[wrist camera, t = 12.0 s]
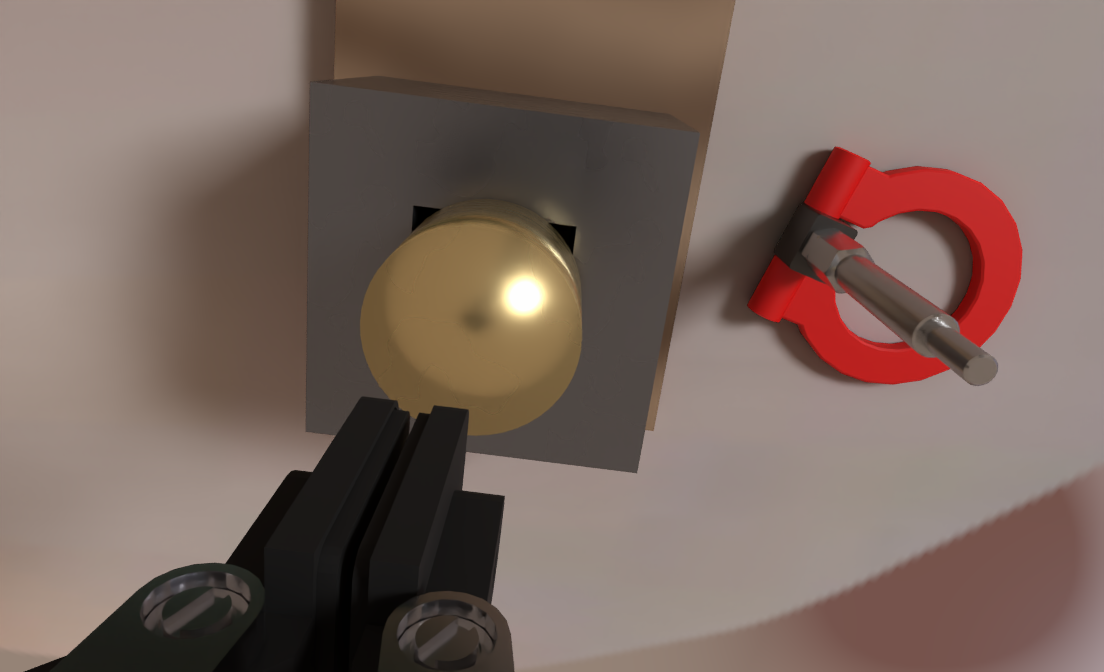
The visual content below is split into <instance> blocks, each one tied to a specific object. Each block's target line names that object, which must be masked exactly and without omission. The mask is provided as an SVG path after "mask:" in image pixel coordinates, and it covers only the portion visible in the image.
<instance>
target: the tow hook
mask: <svg viewBox="0 0 1104 672" xmlns="http://www.w3.org/2000/svg"><path fill="white" fill-rule="evenodd" d="M870 164H871V163H870V162H869V161H868V160H867V159H865V158H862V157H860V156H858V155H856V154H854V153H852V152H849V151H847V150H845V149H843V148H840V147H834V149H833V151H832V152H831V154H830V156H829V158H828V160H827V161H826V163H825V165H824V167H823V169H822V170H821V172H820V174H819V176H818V178H817V180H816V181H815V183H814V185H813V187H812V189H811V190H810V192H809V194H808V196H807V198H806V199H805V201H804V203H801V204H800V205H799V206H798V208H797V210H796V212H795V214H794V215H793V217H792V219H791V221H790V223H789V224H788V226H787V228H786V230H785V232H784V234H783V235H782V237H781V239H780V241H779V243H778V244H777V246H776V248H775V250H774V253H775V255H774V257H773V259H772V261H771V263H770V264H769V266H768V268H767V270H766V272H765V274H764V275H763V277H762V279H761V281H760V283H759V284H758V286H757V288H756V290H755V292H754V293H753V295H752V297H751V299H750V301H749V302H748V304H747V306H748V307H749V308H750V309H751V310H752V311H753V312H755V313H756V314H757V315H759V316H761V317H763V318H765V319H768V320H771V321H774V322H780V320H781V319H782V318H784V319H786V320H788V321H791V322H793V323H795V324H798V327H799V330H800V333H801V334H802V335H803V337H804V338H805V339H806V341H807V342H808V343H809V345H810V346H811V347H812V349H813V350H814V351H815V352H816V354H817V355H818V356H819V357H820V358H821V359H822V360H824V361H825V362H826V363H828V364H829V365H830V366H832V367H833V368H835V369H836V370H837V371H839V372H840V373H842V374H845V375H847V376H850V377H853V378H856V379H859V380H861V381H864V382H870V383H882V384H899V383H906V382H913V381H920V380H923V379H926V378H928V377H931V376H933V375H936V374H939V373H941V372H944V371H946V370H949V369H951V370H953V371H954V372H955V373H956V374H957V375H959V376H960V377H961V378H962V379H964V380H965V381H966V382H967V383H969V384H970V385H974V386H981V385H984V384H987V383H989V382H990V381H991V380H992V379H993V378H994V377H995V376H996V374H997V371H998V363H997V361H996V359H995V358H994V357H992V356H991V355H989V354H988V353H987V352H985V351H984V350H983V349H981V348H980V347H981V346H982V345H983V343H984V342H985V341H986V340H987V339H988V338H989V337H990V336H991V335H992V334H993V333H994V332H995V331H996V330H997V328H998V327H999V325H1000V323H1001V322H1002V320H1003V319H1004V317H1005V315H1006V314H1007V312H1008V311H1009V309H1010V307H1011V306H1012V303H1013V300H1014V297H1015V294H1016V291H1017V288H1018V285H1019V282H1020V279H1021V265H1022V247H1021V242H1020V238H1019V233H1018V229H1017V225H1016V223H1015V221H1014V219H1013V218H1012V216H1011V214H1010V213H1009V211H1008V209H1007V208H1006V206H1005V204H1004V203H1003V201H1002V200H1001V199H1000V198H999V197H997V196H996V195H995V194H994V193H993V192H992V191H990V190H989V189H988V188H987V187H986V186H984V185H983V184H982V183H981V182H978V181H976V180H973V179H971V178H968V177H966V176H964V175H961V174H959V173H956V172H954V171H951V170H948V169H941V168H931V167H921V166H914V167H908V168H902V169H896V170H890V171H885V172H883V173H882V172H880V171H878V170H876V169H874V168H872V167H870V166H869V165H870ZM918 210H919V211H929V212H938V213H941V214H943V215H946V216H948V217H949V218H950V219H951V220H952V221H954V222H955V223H956V224H957V225H959V226H960V228H961V229H962V231H963V233H964V234H965V236H966V237H967V239H968V240H969V244H970V248H971V252H972V255H973V270H972V278H971V281H970V284H969V287H968V291H967V293H966V295H965V297H964V298H963V300H962V302H961V303H960V305H959V307H958V308H957V310H956V311H955V312H954V313H953V314H952V315H951V316H950V315H948V314H947V313H946V312H944V311H943V310H941V309H940V308H938V307H937V306H935V305H934V304H933V303H931V302H930V301H928V300H927V299H925V298H924V297H922V296H921V295H919V294H918V293H917V292H915V291H914V290H912V289H911V288H909V287H908V286H906V285H905V284H904V283H902V282H901V281H899V280H898V279H896V278H895V277H893V276H892V275H890V274H889V273H888V272H886V271H885V270H883V269H882V268H880V267H879V266H877V265H876V264H875V263H874V261H873V260H872V258H871V256H870V255H869V253H868V251H867V250H866V249H865V248H864V247H863V246H862V245H861V244H859V243H858V242H856V241H854V239H855V237H856V236H857V233H858V232H857V230H855V229H854V228H852V227H850V226H849V225H847V224H846V223H844V222H842V221H841V220H839V218H841V219H843V220H846V221H848V222H850V223H852V224H855V225H857V226H859V227H861V228H863V229H864V228H869V227H873V226H874V225H875V224H877V223H878V222H880V221H882V220H884V219H887V218H889V217H892V216H894V215H896V214H899V213H905V212H912V211H918ZM835 292H836V293H848V294H849V295H850V296H851V297H852V298H854V299H855V300H856V301H857V302H858V303H859V304H861V305H862V306H863V307H864V308H865V309H866V310H868V311H869V312H870V313H871V314H872V315H874V316H875V317H876V318H877V319H878V320H879V321H881V322H882V323H883V324H884V325H885V326H886V327H888V328H889V329H890V330H891V331H892V332H894V333H895V334H896V335H897V336H898V337H899V338H901V339H902V340H903V341H904V342H900V343H893V344H888V343H877V342H872V341H869V340H866V339H864V338H861V337H858V336H857V335H855V334H854V333H853V332H851V331H850V330H849V329H848V328H847V327H846V325H845V324H844V322H843V321H842V320H841V318H840V315H839V312H838V309H837V306H836V303H835Z"/></svg>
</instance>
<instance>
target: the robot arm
mask: <svg viewBox="0 0 1104 672" xmlns="http://www.w3.org/2000/svg"><path fill="white" fill-rule="evenodd" d="M468 423H469V410H468V409H461V408H453V407H445V406H437V405H434V406H433V408H432V411H431V413H430V414H428V413H420V412H419V414H418V416H417V418H416V421H415V423H414V425H413V427H412V430H411V432H410V434H409V430H410V412H409V411H403V410H399V405H398V401H396V400H389V399H381V398H373V397H365V396H362V397H361V398H360V399H359V401H358V402H357V404H356V405H355V407H354V408H353V410H352V411H351V413H350V415H349V416H348V418H347V419H346V421H345V422H344V424H343V425H342V427H341V429H340V430H339V432H338V433H337V435H336V436H335V438H334V439H333V441H332V443H331V444H330V446H329V447H328V449H327V450H326V452H325V453H324V455H323V457H322V458H321V460H320V461H319V463H318V464H317V466H316V467H315V469H314V471H313V472H306V471H298V470H294V471H291V472H290V473H289V474H288V475H287V476H286V478H285V479H284V480H283V482H282V483H281V485H280V486H279V488H278V489H277V491H276V492H275V493H274V495H273V496H272V498H271V499H270V501H269V502H268V503H267V505H266V506H265V508H264V509H263V511H262V512H261V513H260V515H259V516H258V518H257V519H256V521H255V522H254V523H253V525H252V526H251V528H250V529H249V531H248V532H247V533H246V535H245V536H244V538H243V539H242V541H241V542H240V543H239V545H238V546H237V548H236V549H235V551H234V552H233V553H232V555H231V556H230V558H229V559H228V561H227V562H226V563H225V564H222V563H204V564H193V565H189V566H185V567H181V568H177V569H174V570H171V571H169V572H167V573H165V574H162V575H160V576H158V577H156V578H154V579H153V580H151V581H150V582H148V583H147V584H146V585H144V586H143V587H141V588H140V589H139V590H138V591H136V592H135V593H134V594H133V595H132V596H131V597H130V598H129V599H128V600H127V601H126V602H125V603H123V604H122V605H121V606H120V607H119V608H118V609H117V610H116V611H115V612H114V613H113V614H111V615H110V616H109V617H108V618H107V619H106V620H105V621H104V622H103V623H102V624H101V625H99V626H98V627H97V628H96V629H95V630H94V631H93V632H92V633H91V634H90V635H89V636H87V637H86V638H85V639H84V640H83V641H82V642H81V643H80V644H79V645H78V646H77V647H75V648H74V649H73V650H72V651H71V652H70V653H69V654H68V655H67V656H64V657H62V658H59V659H56V660H54V661H51V662H49V663H46V664H44V665H40V666H38V667H35V668H33V669H30V670H27V671H25V672H514V662H513V651H512V641H511V633H510V630H509V627H508V623H507V620H506V619H505V618H504V617H503V615H502V614H501V613H500V612H499V610H498V609H497V608H496V607H494V606H493V605H491V602H492V595H493V588H494V581H495V574H496V567H497V559H498V551H499V543H500V535H501V526H502V518H503V509H504V500H505V496H501V495H493V494H485V493H477V492H469V491H462V486H463V475H464V465H465V454H466V444H467V433H468Z"/></svg>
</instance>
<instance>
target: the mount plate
mask: <svg viewBox="0 0 1104 672" xmlns="http://www.w3.org/2000/svg"><path fill="white" fill-rule="evenodd" d="M734 5H735V0H336V11H335V56H334V80H335V79H346V78H357V77H368V76H385V77H393V78H400V79H408V80H416V81H423V82H431V83H438V84H446V85H454V86H461V87H469V88H477V89H484V90H492V91H499V92H507V93H515V94H522V95H530V96H538V97H545V98H553V99H560V100H568V101H576V102H583V103H591V104H598V105H606V106H614V107H621V108H629V109H637V110H644V111H652V112H659V113H667V114H670V115H672V116H674V117H675V118H677V119H679V120H680V121H682V122H683V123H685V124H687V125H688V126H690V127H692V128H693V129H695V130H696V131H698V132H700V137H699V142H698V148H697V153H696V158H695V164H694V169H693V175H692V180H691V185H690V191H689V196H688V201H687V207H686V212H685V218H684V223H683V228H682V234H681V239H680V245H679V250H678V255H677V261H676V266H675V271H674V277H673V282H672V288H671V293H670V298H669V304H668V309H667V314H666V320H665V325H664V331H663V336H662V341H661V347H660V352H659V357H658V363H657V368H656V374H655V379H654V384H653V390H652V395H651V401H650V406H649V411H648V417H647V422H646V427H645V430H650V431H654V425H655V420H656V415H657V410H658V404H659V399H660V394H661V389H662V383H663V378H664V373H665V368H666V362H667V357H668V352H669V347H670V341H671V336H672V331H673V326H674V320H675V315H676V310H677V305H678V299H679V294H680V289H681V284H682V278H683V273H684V268H685V263H686V257H687V252H688V247H689V242H690V236H691V231H692V226H693V221H694V215H695V210H696V205H697V200H698V194H699V189H700V184H701V179H702V173H703V168H704V163H705V158H706V152H707V147H708V142H709V137H710V131H711V126H712V121H713V115H714V110H715V105H716V100H717V94H718V89H719V84H720V79H721V73H722V68H723V63H724V58H725V52H726V47H727V42H728V37H729V31H730V26H731V21H732V16H733V10H734ZM549 224H550V225H552V226H553V227H554V228H555V229H556V231H557V232H558V233H559V234H560V235H561V236H562V238H563V239H564V240H565V242H566V243H567V245H568V246H569V241H570V234H571V226H570V225H562V224H554V223H549Z"/></svg>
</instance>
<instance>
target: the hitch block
mask: <svg viewBox="0 0 1104 672" xmlns="http://www.w3.org/2000/svg"><path fill="white" fill-rule="evenodd" d="M699 137H700V132H698V131H696V130H695V129H693V128H692V127H690V126H688V125H687V124H685V123H683V122H682V121H680V120H679V119H677V118H675V117H674V116H672V115H670V114H667V113H659V112H652V111H644V110H637V109H629V108H621V107H614V106H606V105H598V104H591V103H583V102H576V101H568V100H560V99H553V98H545V97H538V96H530V95H522V94H515V93H507V92H499V91H492V90H484V89H477V88H469V87H461V86H454V85H446V84H438V83H431V82H423V81H416V80H408V79H400V78H393V77H385V76H368V77H357V78H346V79H335V80H324V81H313V82H310V119H309V201H308V283H307V365H306V432H313V433H321V434H329V435H337V433H338V432H339V430H340V429H341V427H342V425H343V424H344V422H345V421H346V419H347V418H348V416H349V415H350V413H351V411H352V410H353V408H354V407H355V405H356V404H357V402H358V401H359V399H360V398H361V397H362V396H365V397H373V398H381V399H389V400H391V399H390V398H389V397H388V396H387V395H386V394H385V392H384V391H383V390H382V389H381V387H380V386H379V384H378V383H377V381H376V380H375V378H374V376H373V375H372V373H371V370H370V368H369V366H368V364H367V362H366V358H365V355H364V352H363V348H362V342H361V336H360V318H361V309H362V305H363V301H364V297H365V294H366V291H367V289H368V287H369V284H370V282H371V280H372V279H373V277H374V275H375V274H376V272H377V270H378V269H379V268H380V267H381V265H382V264H383V263H384V262H385V260H386V259H387V258H388V257H389V256H390V255H391V254H392V253H393V252H394V251H395V250H396V249H397V248H398V247H399V246H400V244H401V243H402V242H403V241H404V240H405V239H406V238H407V237H408V236H409V235H410V234H411V233H412V232H413V231H414V230H415V229H416V228H417V227H418V226H419V225H420V224H421V223H422V222H423V221H424V220H425V219H426V218H428V217H429V216H431V215H432V214H434V213H435V212H437V211H439V210H441V209H443V208H444V207H446V206H449V205H452V204H455V203H458V202H462V201H467V200H473V199H496V200H501V201H507V202H511V203H514V204H517V205H520V206H522V207H524V208H526V209H528V210H530V211H533V212H534V213H536V214H537V215H539V216H540V217H542V218H543V219H545V220H546V221H547V222H548V223H554V224H562V225H570V226H571V234H570V241H569V248H570V250H571V252H572V254H573V256H574V258H575V261H576V264H577V267H578V270H579V275H580V280H581V298H582V344H581V353H580V357H579V362H578V365H577V368H576V371H575V373H574V376H573V378H572V380H571V382H570V383H569V385H568V387H567V389H566V390H565V391H564V393H563V394H562V396H561V397H560V398H559V399H558V400H557V401H556V402H555V403H554V405H553V406H552V407H551V408H550V409H548V410H547V411H546V412H545V413H543V414H542V415H541V416H539V417H538V418H536V419H534V420H533V421H531V422H530V423H528V424H525V425H523V426H521V427H519V428H516V429H513V430H510V431H507V432H503V433H498V434H492V435H480V436H472V435H467V444H466V452H472V453H480V454H488V455H496V456H504V457H512V458H520V459H528V460H536V461H544V462H552V463H560V464H568V465H576V466H584V467H592V468H600V469H608V470H616V471H624V472H632V473H637V470H638V465H639V460H640V454H641V449H642V444H643V438H644V433H645V427H646V422H647V417H648V411H649V406H650V401H651V395H652V390H653V384H654V379H655V374H656V368H657V363H658V357H659V352H660V347H661V341H662V336H663V331H664V325H665V320H666V314H667V309H668V304H669V298H670V293H671V288H672V282H673V277H674V271H675V266H676V261H677V255H678V250H679V245H680V239H681V234H682V228H683V223H684V218H685V212H686V207H687V201H688V196H689V191H690V185H691V180H692V175H693V169H694V164H695V158H696V153H697V148H698V142H699ZM399 410H402V409H401V408H399ZM415 421H416V419H415V418H413V417H411V416H410V430H409V434H410V432H411V430H412V427H413V425H414V423H415Z"/></svg>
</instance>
